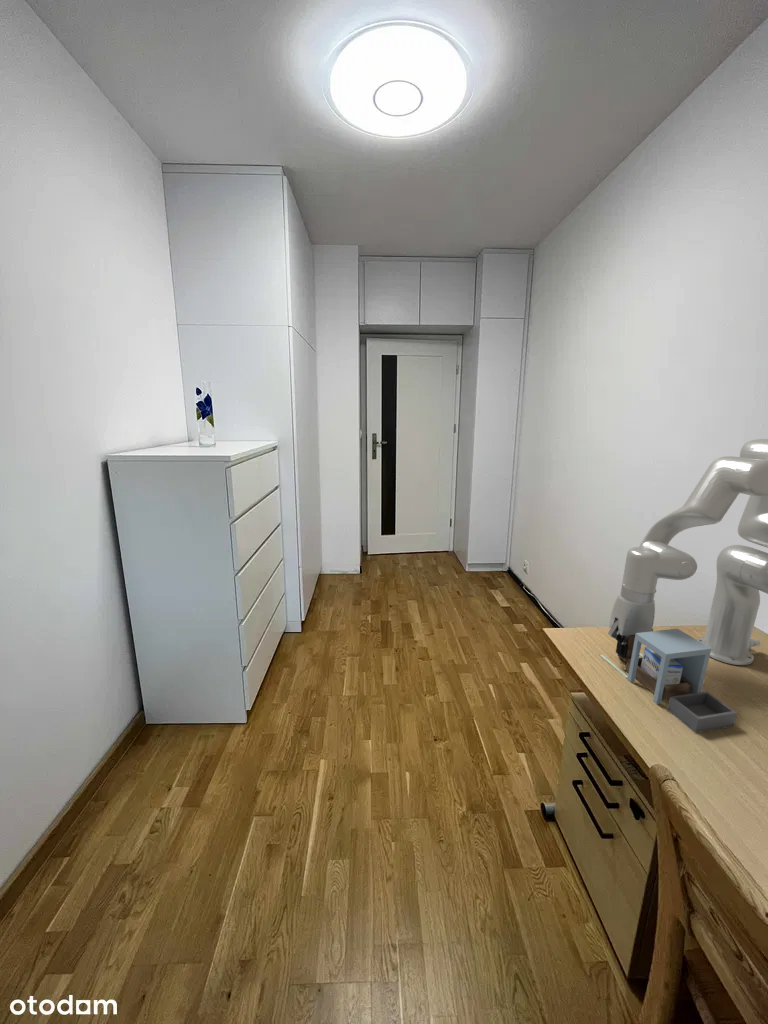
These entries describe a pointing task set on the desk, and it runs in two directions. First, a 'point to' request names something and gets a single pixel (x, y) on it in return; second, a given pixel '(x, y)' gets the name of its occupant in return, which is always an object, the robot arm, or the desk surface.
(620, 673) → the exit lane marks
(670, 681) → the medicine box
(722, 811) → the desk surface
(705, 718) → the tray
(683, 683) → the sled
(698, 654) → the tunnel
